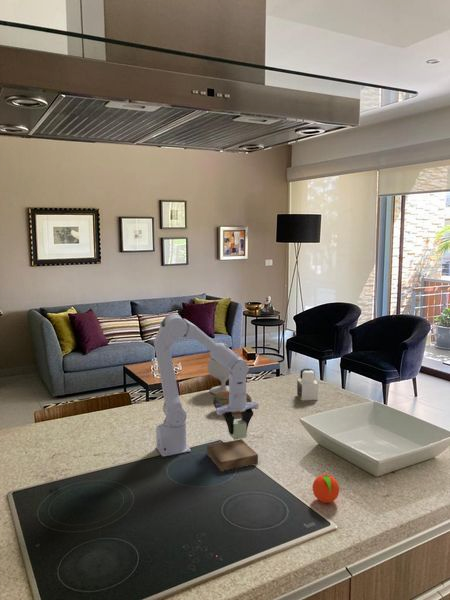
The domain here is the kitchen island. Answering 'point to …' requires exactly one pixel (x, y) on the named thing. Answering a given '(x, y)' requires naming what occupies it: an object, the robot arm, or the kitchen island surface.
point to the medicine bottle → (307, 385)
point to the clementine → (325, 488)
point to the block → (239, 429)
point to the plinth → (232, 454)
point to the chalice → (218, 375)
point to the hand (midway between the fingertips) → (237, 431)
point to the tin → (226, 400)
